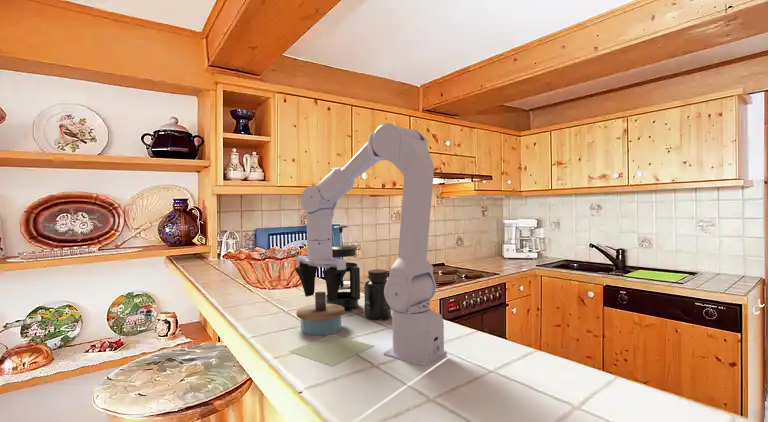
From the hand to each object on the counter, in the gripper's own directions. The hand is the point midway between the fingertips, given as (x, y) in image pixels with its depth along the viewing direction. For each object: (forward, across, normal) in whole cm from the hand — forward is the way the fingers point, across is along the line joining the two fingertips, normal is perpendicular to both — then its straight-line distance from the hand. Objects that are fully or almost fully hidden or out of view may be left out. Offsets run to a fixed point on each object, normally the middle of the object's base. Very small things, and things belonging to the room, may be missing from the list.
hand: (320, 297), depth 90 cm
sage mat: (+7, +11, -8) cm, 15 cm away
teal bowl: (+8, 0, 0) cm, 8 cm away
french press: (+8, -9, +17) cm, 21 cm away
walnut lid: (+4, 0, 0) cm, 4 cm away
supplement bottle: (+8, +5, +15) cm, 18 cm away
